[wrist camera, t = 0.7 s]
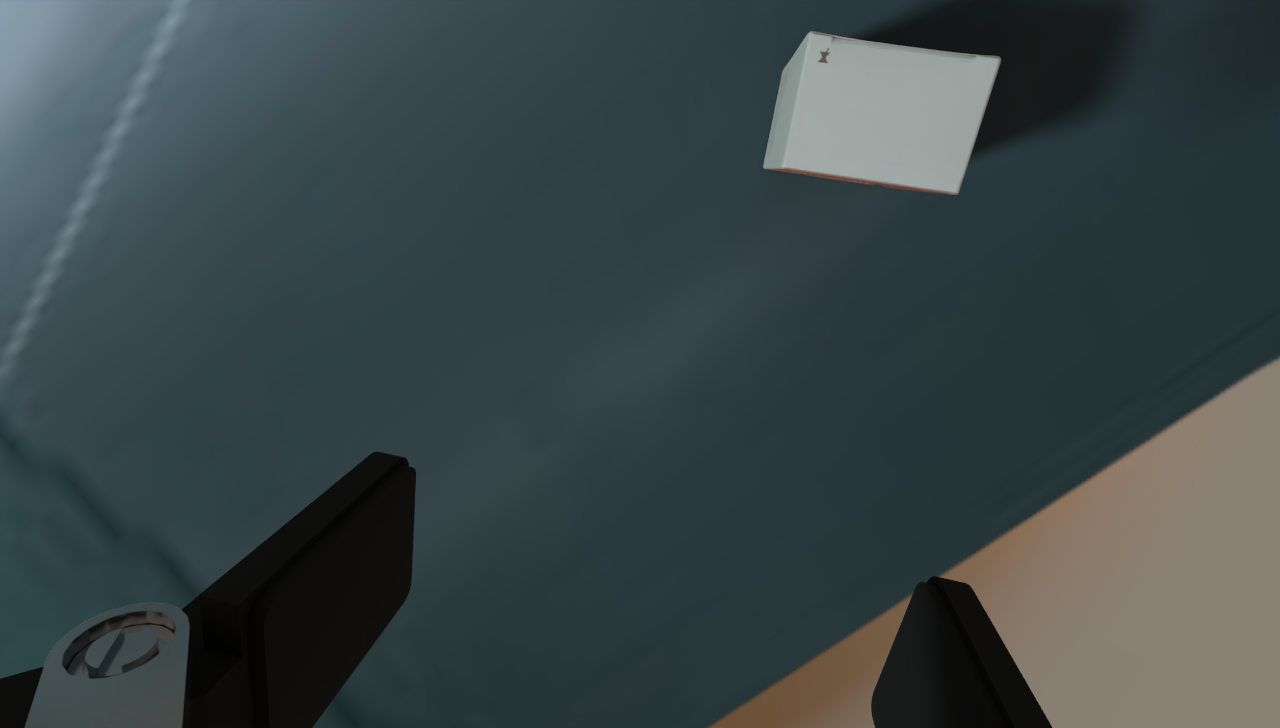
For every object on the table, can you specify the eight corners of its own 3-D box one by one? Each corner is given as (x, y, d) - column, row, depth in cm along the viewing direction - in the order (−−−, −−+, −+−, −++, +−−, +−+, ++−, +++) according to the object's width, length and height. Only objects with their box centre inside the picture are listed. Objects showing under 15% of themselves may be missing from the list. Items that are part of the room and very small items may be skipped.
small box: (761, 168, 36) (775, 169, 26) (782, 67, 34) (805, 27, 24) (894, 189, 36) (961, 198, 26) (923, 88, 34) (1006, 55, 24)
